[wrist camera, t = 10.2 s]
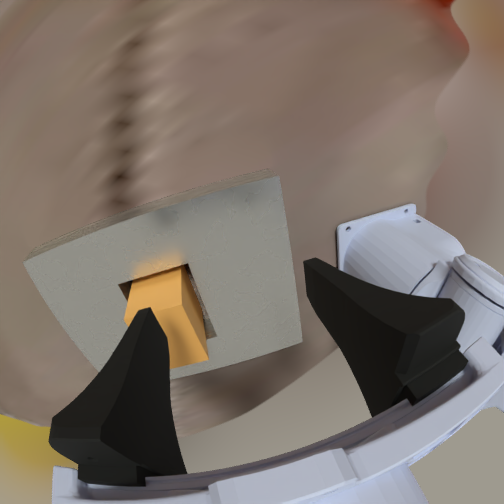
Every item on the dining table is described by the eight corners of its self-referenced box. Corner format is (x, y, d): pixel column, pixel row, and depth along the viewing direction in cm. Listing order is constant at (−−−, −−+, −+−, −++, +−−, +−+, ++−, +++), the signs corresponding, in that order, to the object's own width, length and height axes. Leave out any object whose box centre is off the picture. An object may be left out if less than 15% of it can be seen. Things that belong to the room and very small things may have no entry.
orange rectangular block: (181, 256, 21) (181, 304, 16) (201, 308, 24) (209, 359, 18) (135, 270, 20) (123, 319, 15) (160, 319, 23) (159, 371, 18)
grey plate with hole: (267, 168, 19) (278, 175, 17) (293, 325, 27) (302, 341, 25) (35, 247, 17) (22, 262, 15) (117, 371, 25) (114, 389, 23)
